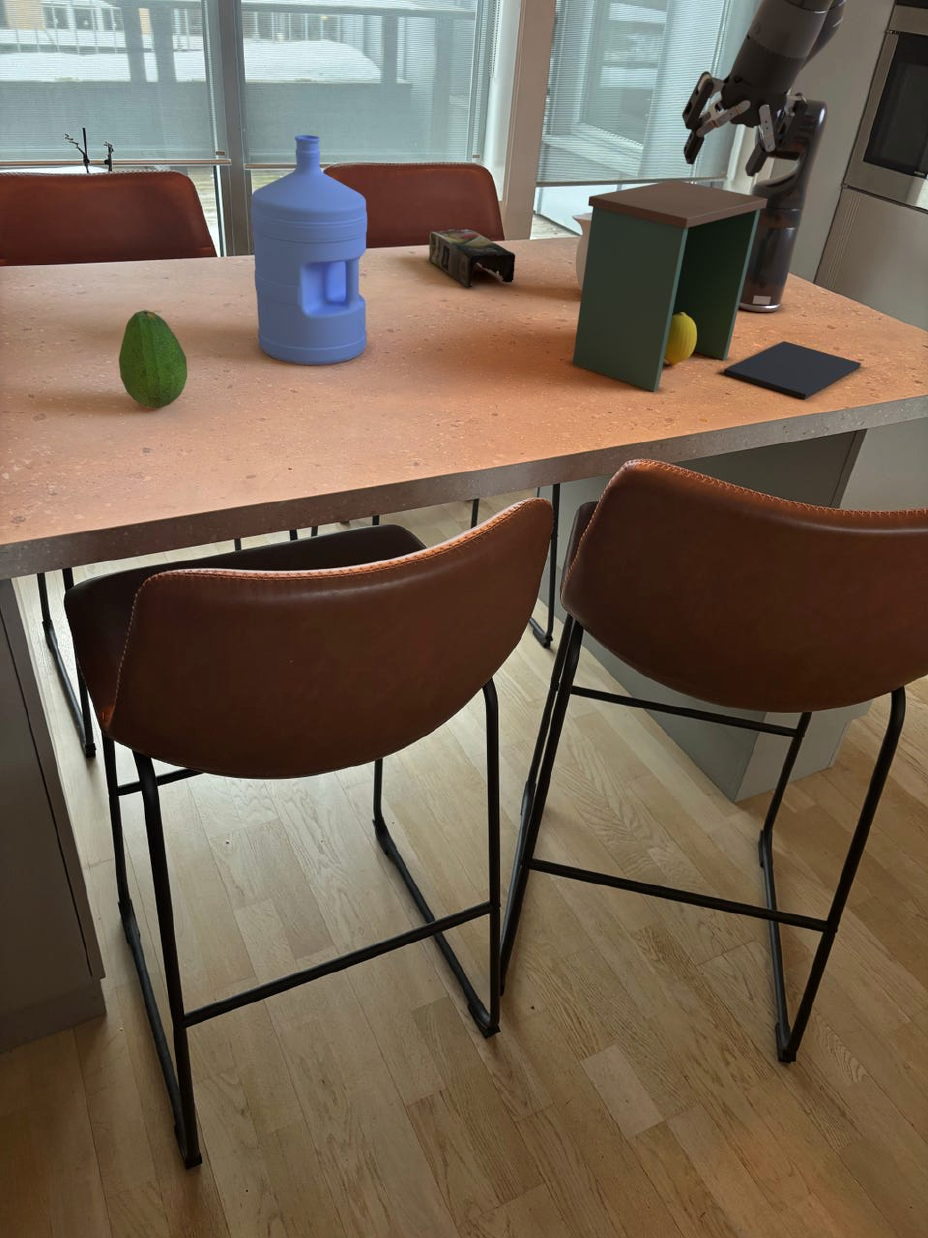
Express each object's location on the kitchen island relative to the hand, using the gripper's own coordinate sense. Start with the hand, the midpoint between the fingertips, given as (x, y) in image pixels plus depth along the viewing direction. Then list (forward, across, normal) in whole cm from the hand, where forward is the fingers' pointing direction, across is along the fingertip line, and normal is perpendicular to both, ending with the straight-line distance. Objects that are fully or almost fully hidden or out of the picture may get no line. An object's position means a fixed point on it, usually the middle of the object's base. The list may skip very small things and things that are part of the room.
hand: (718, 166), depth 123 cm
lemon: (+28, -5, +6) cm, 29 cm away
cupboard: (+28, -2, +5) cm, 29 cm away
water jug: (+36, +48, +4) cm, 61 cm away
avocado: (+30, +68, +26) cm, 78 cm away
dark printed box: (+48, +20, -37) cm, 64 cm away
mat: (+25, -23, +6) cm, 34 cm away
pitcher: (+41, -3, -26) cm, 49 cm away
